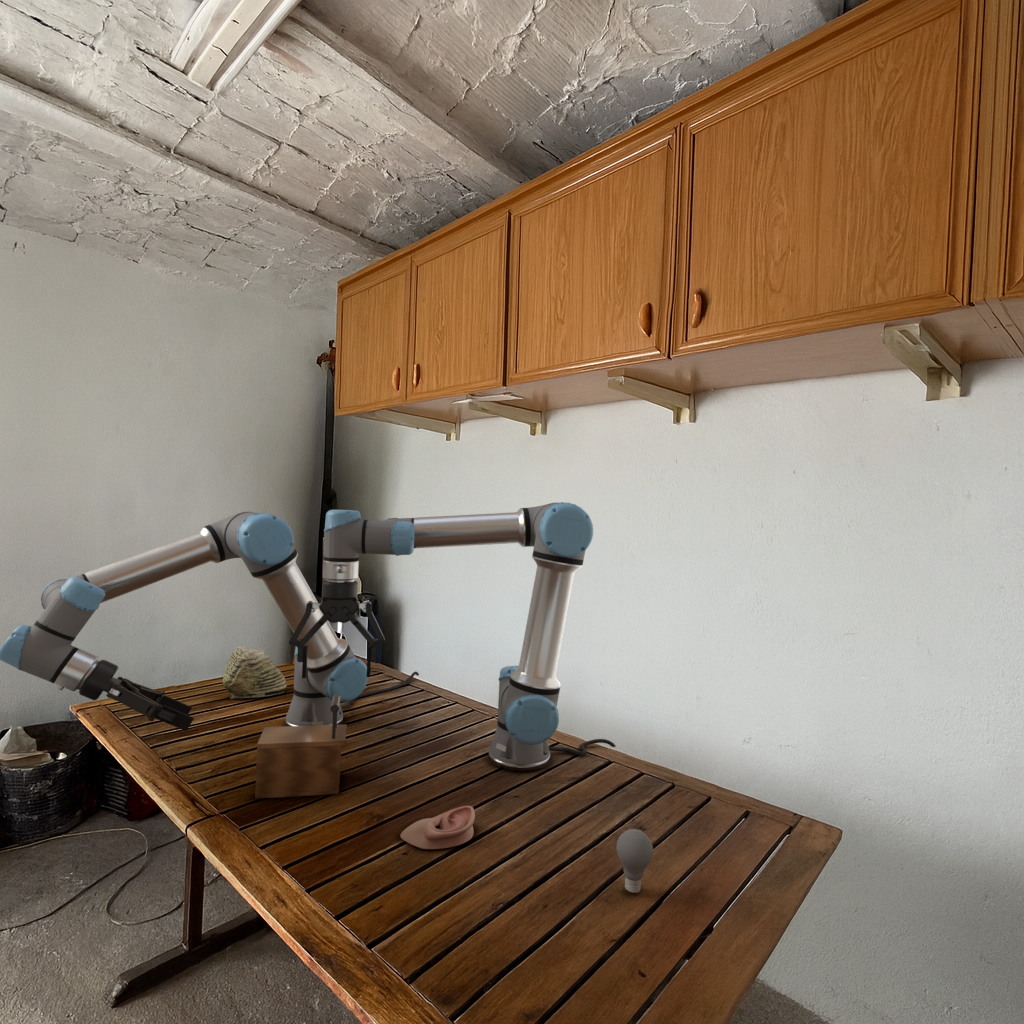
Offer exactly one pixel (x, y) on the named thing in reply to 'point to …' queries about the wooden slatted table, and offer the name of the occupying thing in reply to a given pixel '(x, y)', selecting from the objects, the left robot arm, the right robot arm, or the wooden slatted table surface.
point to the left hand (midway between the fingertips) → (189, 718)
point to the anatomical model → (442, 829)
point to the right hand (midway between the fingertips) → (336, 676)
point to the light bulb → (634, 857)
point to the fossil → (252, 674)
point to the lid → (305, 733)
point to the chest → (297, 771)
